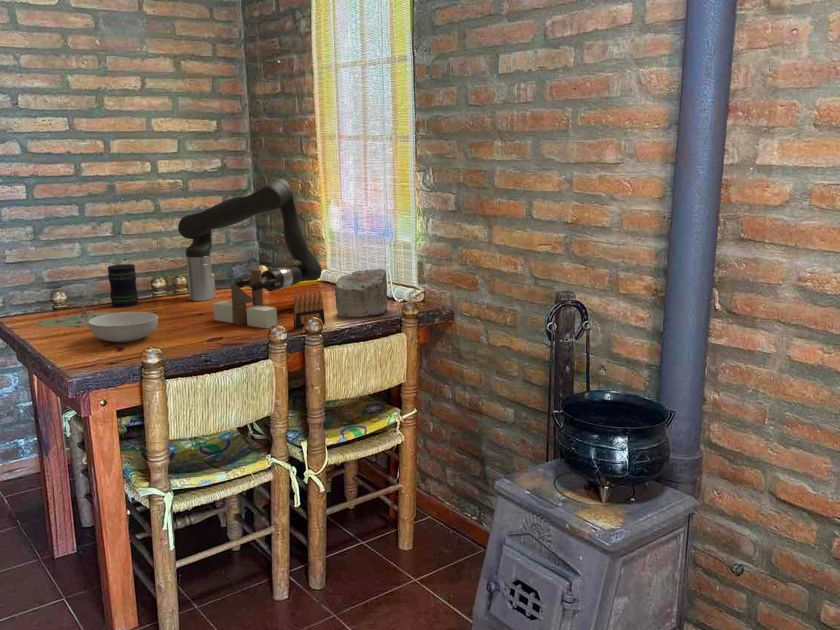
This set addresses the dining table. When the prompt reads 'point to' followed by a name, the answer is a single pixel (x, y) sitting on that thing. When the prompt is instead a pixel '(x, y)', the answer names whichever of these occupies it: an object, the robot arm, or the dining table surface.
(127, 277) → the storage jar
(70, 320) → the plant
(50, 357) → the dining table surface
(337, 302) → the petrified wood
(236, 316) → the wooden angular bracket
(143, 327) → the serving bowl
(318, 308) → the ammunition clip
